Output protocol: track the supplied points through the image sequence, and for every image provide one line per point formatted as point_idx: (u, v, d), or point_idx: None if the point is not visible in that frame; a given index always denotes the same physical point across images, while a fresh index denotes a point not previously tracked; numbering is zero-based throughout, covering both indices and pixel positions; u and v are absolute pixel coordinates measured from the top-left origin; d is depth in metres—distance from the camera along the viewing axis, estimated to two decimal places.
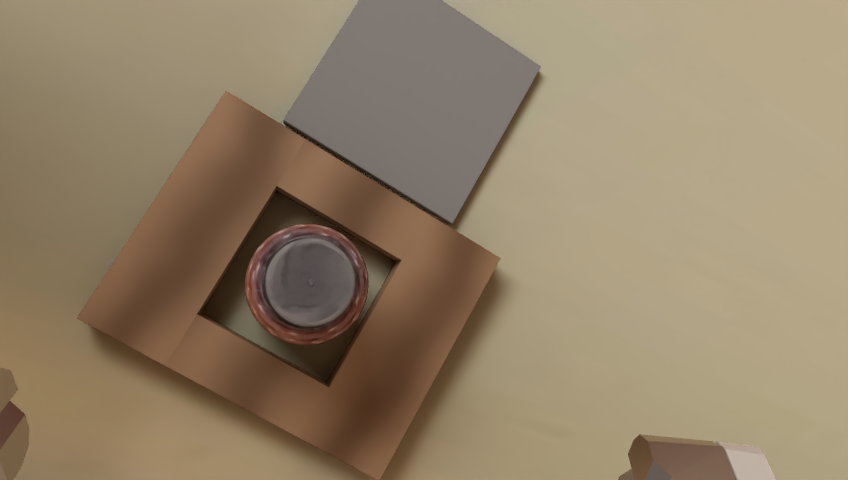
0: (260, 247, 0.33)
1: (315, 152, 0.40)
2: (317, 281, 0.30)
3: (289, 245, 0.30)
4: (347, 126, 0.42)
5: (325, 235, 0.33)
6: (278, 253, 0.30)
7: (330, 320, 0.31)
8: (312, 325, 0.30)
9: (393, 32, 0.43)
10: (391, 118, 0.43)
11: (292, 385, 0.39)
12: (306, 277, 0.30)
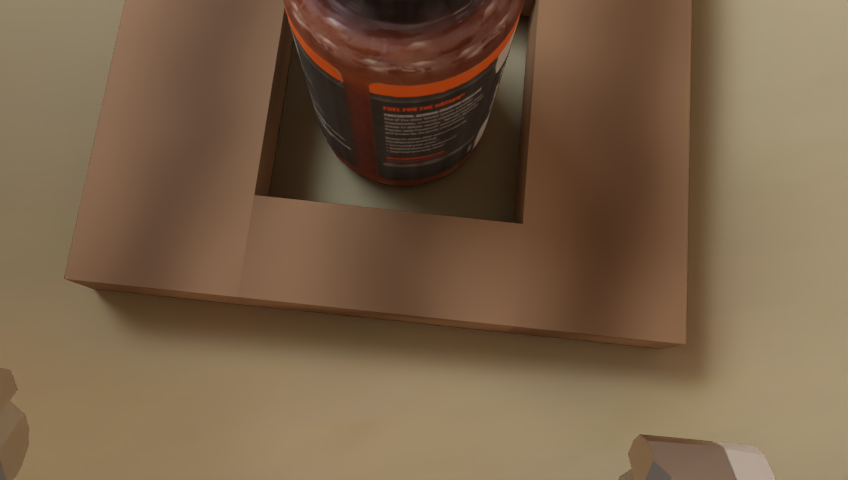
0: None
1: None
2: None
3: None
4: None
5: None
6: None
7: None
8: None
9: None
10: None
11: (461, 245, 0.21)
12: None
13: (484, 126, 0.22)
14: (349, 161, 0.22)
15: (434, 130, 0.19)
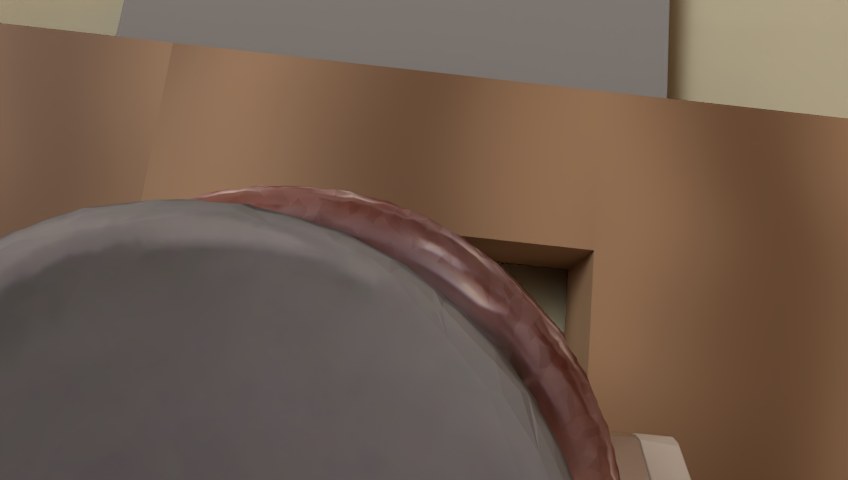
0: None
1: (214, 64, 0.13)
2: None
3: None
4: None
5: None
6: None
7: None
8: None
9: None
10: None
11: None
12: None
13: None
14: None
15: None
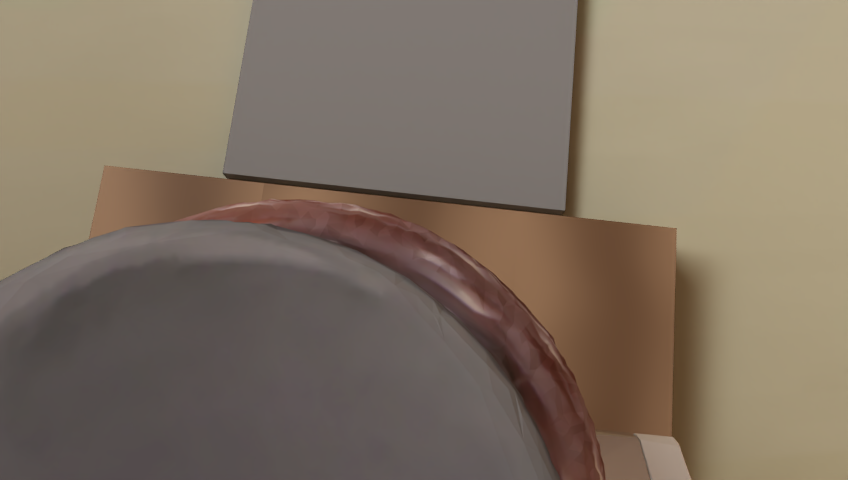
0: None
1: (289, 196, 0.22)
2: None
3: None
4: (327, 137, 0.24)
5: None
6: None
7: None
8: None
9: None
10: (390, 93, 0.25)
11: None
12: None
13: None
14: None
15: None
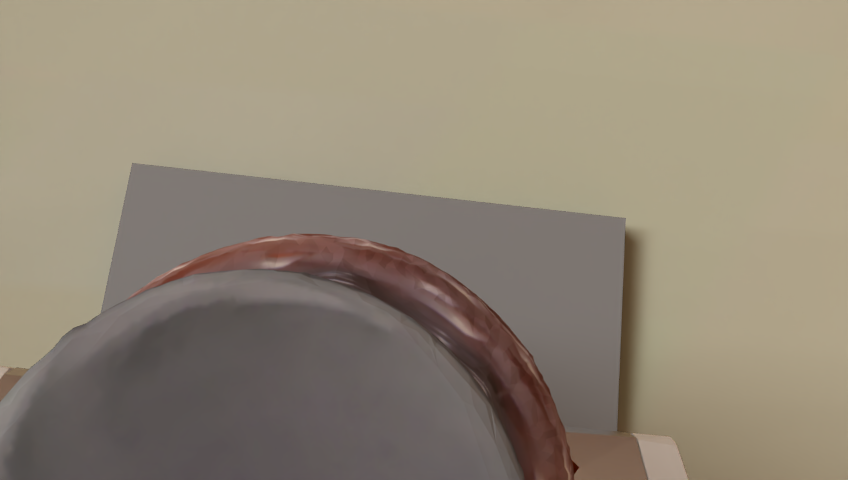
0: None
1: None
2: None
3: (19, 391, 0.05)
4: None
5: (281, 265, 0.07)
6: None
7: None
8: None
9: None
10: None
11: None
12: None
13: None
14: None
15: None
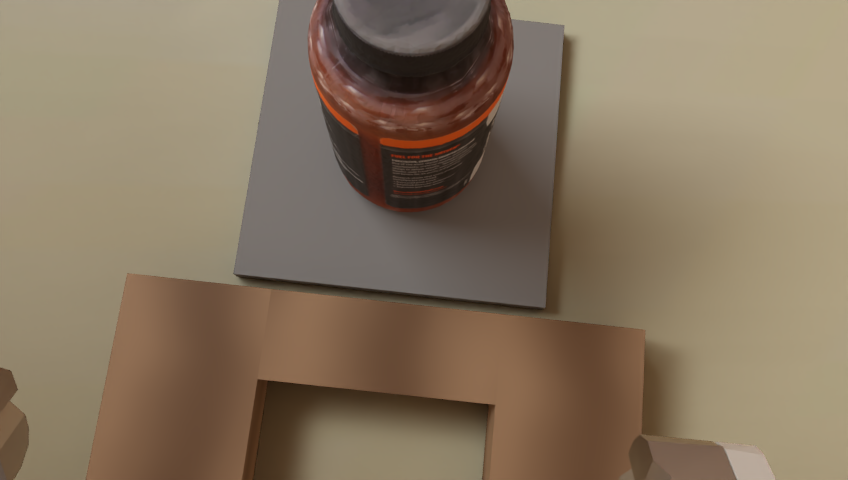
0: (313, 10, 0.19)
1: (293, 301, 0.25)
2: None
3: None
4: (328, 239, 0.27)
5: None
6: None
7: (473, 27, 0.17)
8: (446, 44, 0.16)
9: None
10: None
11: None
12: None
13: (479, 163, 0.26)
14: (361, 191, 0.26)
15: (434, 171, 0.22)
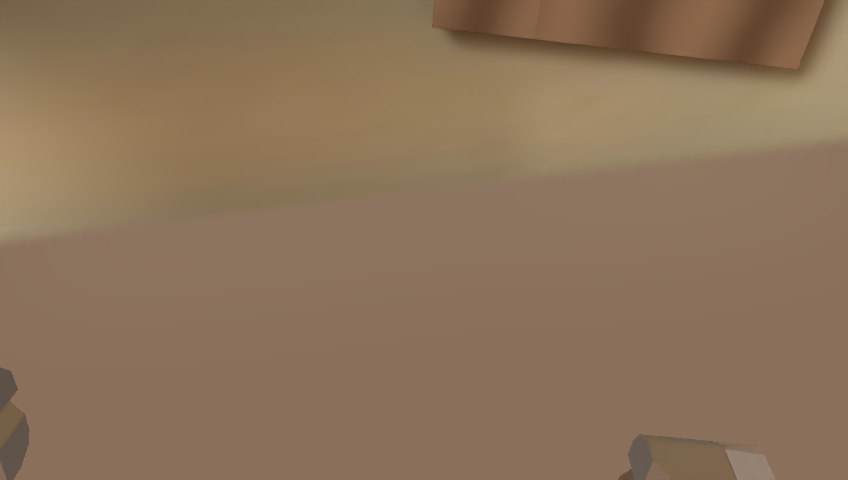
0: None
1: None
2: None
3: None
4: None
5: None
6: None
7: None
8: None
9: None
10: None
11: (674, 7, 0.34)
12: None
13: None
14: None
15: None
